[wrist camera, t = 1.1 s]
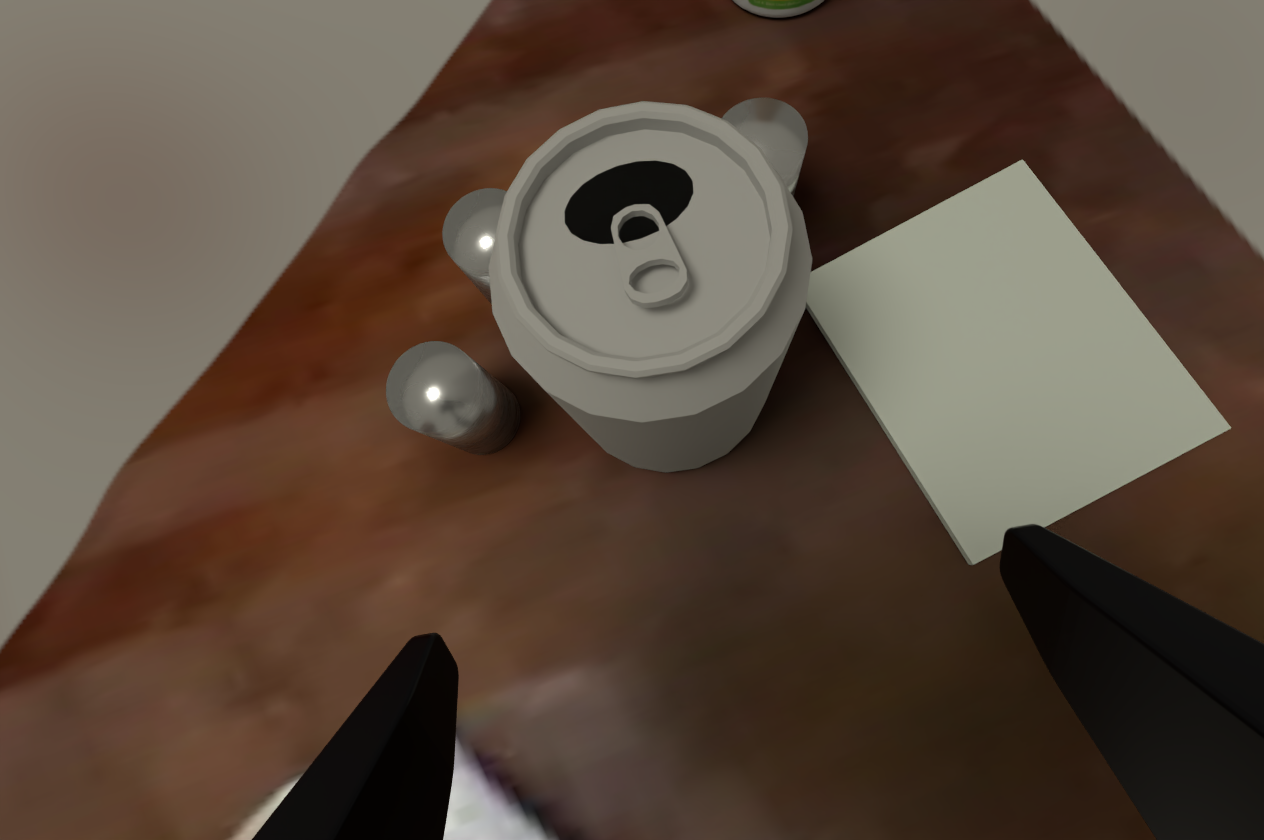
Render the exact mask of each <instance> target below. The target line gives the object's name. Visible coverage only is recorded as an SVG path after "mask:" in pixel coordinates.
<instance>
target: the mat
mask: <svg viewBox="0 0 1264 840" xmlns="http://www.w3.org/2000/svg"><path fill="white" fill-rule="evenodd" d="M806 309H807V310H808V312H809V313H810V315H811V317H812V318H813V320H814V321H815V323H816V324H817V326H818V328H819V329H820V331H821V332H822V334H823V335H824V337H825V339H826V340H827V342H828V343H829V345H830V347H831V348H832V350H833V351H834V353H835V354H836V356H837V358H838V359H839V361H840V362H841V364H842V365H843V367H844V369H845V370H846V372H847V373H848V375H849V377H850V378H851V380H852V381H853V383H854V384H855V386H856V388H857V389H858V391H859V392H860V394H861V395H862V397H863V399H864V400H865V402H866V403H867V405H868V407H869V408H870V410H871V411H872V413H873V414H874V416H875V418H876V419H877V421H878V422H879V424H880V426H881V427H882V429H883V430H884V432H885V433H886V435H887V437H888V438H889V440H890V441H891V443H892V444H893V446H894V448H895V449H896V451H897V452H898V454H899V456H900V457H901V459H902V460H903V462H904V463H905V465H906V467H907V468H908V470H909V471H910V473H911V474H912V476H913V478H914V479H915V481H916V482H917V484H918V486H919V487H920V489H921V490H922V492H923V493H924V495H925V497H926V498H927V500H928V501H929V503H930V505H931V506H932V508H933V509H934V511H935V512H936V514H937V516H938V517H939V519H940V520H941V522H942V523H943V525H944V527H945V528H946V530H947V531H948V533H949V535H950V536H951V538H952V539H953V541H954V542H955V544H956V546H957V547H958V549H959V550H960V552H961V553H962V555H963V557H964V558H965V560H966V561H967V563H968V565H974V564H976V563H978V562H980V561H982V560H984V559H986V558H987V557H989V556H991V555H993V554H995V553H997V552H999V551H1001V550H1002V546H1003V539H1004V534H1005V532H1006V530H1007V529H1009V528H1011V527H1016V526H1022V525H1027V524H1037V525H1040V526H1042V527H1046V526H1048V525H1050V524H1052V523H1053V522H1055V521H1057V520H1059V519H1061V518H1063V517H1065V516H1067V515H1068V514H1070V513H1072V512H1074V511H1076V510H1078V509H1080V508H1082V507H1084V506H1085V505H1087V504H1089V503H1091V502H1093V501H1095V500H1097V499H1099V498H1101V497H1102V496H1104V495H1106V494H1108V493H1110V492H1112V491H1114V490H1116V489H1118V488H1119V487H1121V486H1123V485H1125V484H1127V483H1129V482H1131V481H1133V480H1134V479H1136V478H1138V477H1140V476H1142V475H1144V474H1146V473H1148V472H1150V471H1151V470H1153V469H1155V468H1157V467H1159V466H1161V465H1163V464H1165V463H1167V462H1168V461H1170V460H1172V459H1174V458H1176V457H1178V456H1180V455H1182V454H1183V453H1185V452H1187V451H1189V450H1191V449H1193V448H1195V447H1197V446H1199V445H1200V444H1202V443H1204V442H1206V441H1208V440H1210V439H1212V438H1214V437H1216V436H1217V435H1219V434H1221V433H1223V432H1225V431H1227V430H1229V429H1231V427H1230V426H1229V424H1228V423H1227V422H1226V420H1225V419H1224V418H1223V417H1222V415H1221V414H1220V413H1219V411H1218V410H1217V409H1216V408H1215V406H1214V405H1213V404H1212V402H1211V401H1210V400H1209V399H1208V397H1207V396H1206V395H1205V393H1204V392H1203V391H1202V390H1201V388H1200V387H1199V386H1198V384H1197V383H1196V382H1195V381H1194V379H1193V378H1192V377H1191V375H1190V374H1189V373H1188V372H1187V370H1186V369H1185V368H1184V366H1183V365H1182V364H1181V363H1180V361H1179V360H1178V359H1177V357H1176V356H1175V355H1174V354H1173V352H1172V351H1171V350H1170V348H1169V347H1168V346H1167V345H1166V343H1165V342H1164V341H1163V339H1162V338H1161V337H1160V336H1159V334H1158V333H1157V332H1156V330H1155V329H1154V328H1153V327H1152V325H1151V324H1150V323H1149V321H1148V320H1147V319H1146V318H1145V316H1144V315H1143V314H1142V312H1141V311H1140V310H1139V309H1138V307H1137V306H1136V305H1135V303H1134V302H1133V301H1132V300H1131V298H1130V297H1129V296H1128V294H1127V293H1126V292H1125V291H1124V289H1123V288H1122V287H1121V285H1120V284H1119V283H1118V282H1117V280H1116V279H1115V278H1114V276H1113V275H1112V274H1111V273H1110V271H1109V270H1108V269H1107V267H1106V266H1105V265H1104V264H1103V262H1102V261H1101V260H1100V258H1099V257H1098V256H1097V255H1096V253H1095V252H1094V251H1093V249H1092V248H1091V247H1090V245H1089V244H1088V243H1087V242H1086V240H1085V239H1084V238H1083V236H1082V235H1081V234H1080V233H1079V231H1078V230H1077V229H1076V227H1075V226H1074V225H1073V224H1072V222H1071V221H1070V220H1069V218H1068V217H1067V216H1066V215H1065V213H1064V212H1063V211H1062V209H1061V208H1060V207H1059V206H1058V204H1057V203H1056V202H1055V200H1054V199H1053V198H1052V197H1051V195H1050V194H1049V193H1048V191H1047V190H1046V189H1045V188H1044V186H1043V185H1042V184H1041V182H1040V181H1039V180H1038V179H1037V177H1036V176H1035V175H1034V173H1033V172H1032V171H1031V170H1030V168H1029V167H1028V166H1027V164H1026V163H1025V162H1024V161H1023V159H1022V160H1021V161H1019V162H1017V163H1015V164H1013V165H1011V166H1009V167H1007V168H1006V169H1004V170H1002V171H1000V172H998V173H996V174H994V175H992V176H991V177H989V178H987V179H985V180H983V181H981V182H979V183H977V184H975V185H974V186H972V187H970V188H968V189H966V190H964V191H962V192H960V193H959V194H957V195H955V196H953V197H951V198H949V199H947V200H945V201H944V202H942V203H940V204H938V205H936V206H934V207H932V208H930V209H929V210H927V211H925V212H923V213H921V214H919V215H917V216H915V217H914V218H912V219H910V220H908V221H906V222H904V223H902V224H900V225H899V226H897V227H895V228H893V229H891V230H889V231H887V232H885V233H884V234H882V235H880V236H878V237H876V238H874V239H872V240H870V241H869V242H867V243H865V244H863V245H861V246H859V247H857V248H855V249H854V250H852V251H850V252H848V253H846V254H844V255H842V256H840V257H839V258H837V259H835V260H833V261H831V262H829V263H827V264H825V265H823V266H822V267H820V268H818V269H816V270H814V271H812V272H810V279H809V286H808V293H807V300H806Z"/></svg>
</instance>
